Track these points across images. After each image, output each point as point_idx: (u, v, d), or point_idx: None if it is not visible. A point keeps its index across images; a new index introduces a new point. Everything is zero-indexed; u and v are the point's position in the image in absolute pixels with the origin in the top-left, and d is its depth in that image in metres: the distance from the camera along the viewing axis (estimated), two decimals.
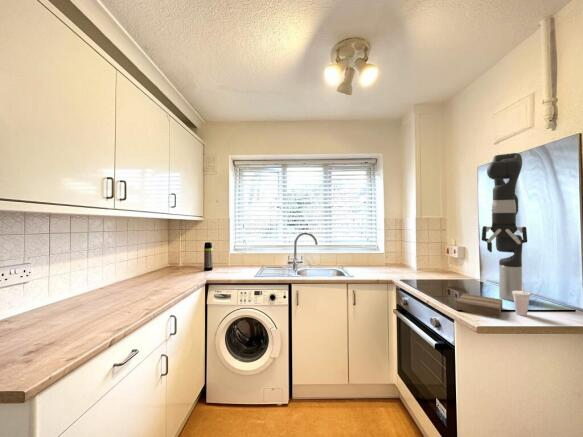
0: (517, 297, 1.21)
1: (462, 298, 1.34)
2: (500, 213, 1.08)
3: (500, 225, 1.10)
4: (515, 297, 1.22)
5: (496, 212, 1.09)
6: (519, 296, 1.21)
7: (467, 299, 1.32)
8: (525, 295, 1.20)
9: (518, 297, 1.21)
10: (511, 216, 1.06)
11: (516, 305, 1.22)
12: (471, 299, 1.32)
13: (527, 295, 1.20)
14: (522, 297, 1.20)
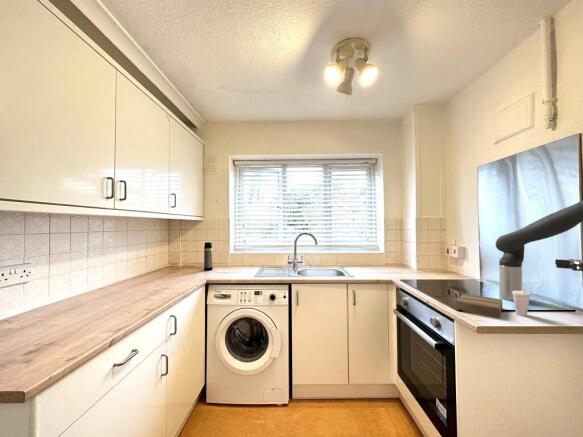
0: (517, 297, 1.21)
1: (462, 298, 1.34)
2: None
3: None
4: (515, 297, 1.22)
5: None
6: (519, 296, 1.21)
7: (467, 299, 1.32)
8: (525, 295, 1.20)
9: (518, 297, 1.21)
10: None
11: (516, 305, 1.22)
12: (471, 299, 1.32)
13: (527, 295, 1.20)
14: (522, 297, 1.20)
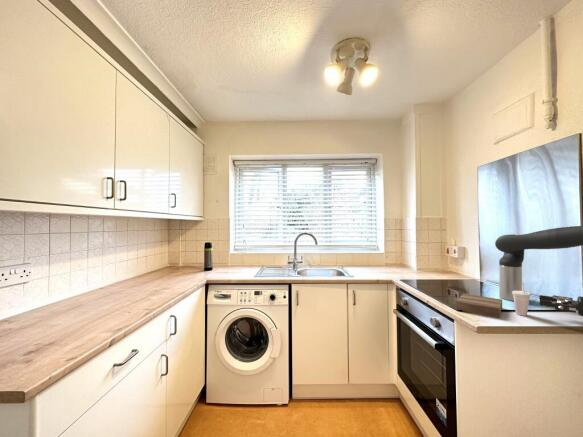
0: (517, 297, 1.21)
1: (462, 298, 1.34)
2: None
3: None
4: (515, 297, 1.22)
5: None
6: (519, 296, 1.21)
7: (467, 299, 1.32)
8: (525, 295, 1.20)
9: (518, 297, 1.21)
10: None
11: (516, 305, 1.22)
12: (471, 299, 1.32)
13: (527, 295, 1.20)
14: (522, 297, 1.20)
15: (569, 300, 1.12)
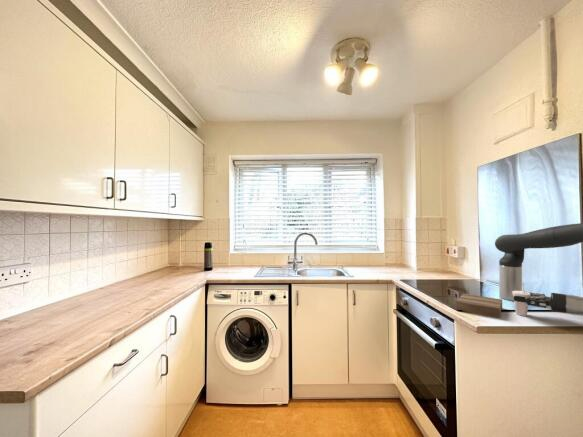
0: None
1: (462, 298, 1.34)
2: None
3: None
4: None
5: (566, 312, 1.12)
6: None
7: (467, 299, 1.32)
8: (525, 295, 1.20)
9: None
10: None
11: (516, 305, 1.22)
12: (471, 299, 1.32)
13: (527, 295, 1.20)
14: None
15: (542, 296, 1.17)
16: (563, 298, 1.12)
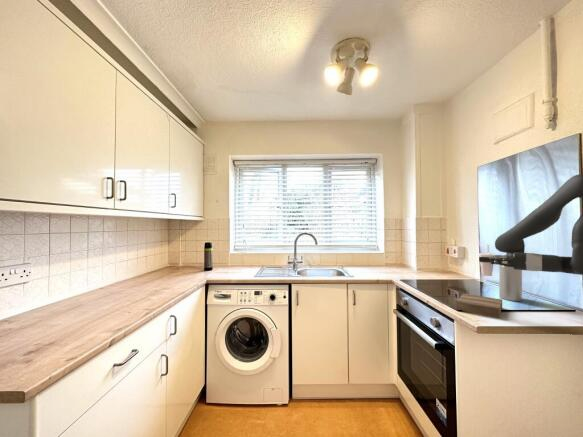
0: None
1: (462, 298, 1.34)
2: None
3: None
4: None
5: (526, 269, 1.18)
6: None
7: (467, 299, 1.32)
8: (490, 256, 1.25)
9: None
10: None
11: (482, 266, 1.28)
12: (471, 299, 1.32)
13: (491, 256, 1.25)
14: None
15: (505, 256, 1.23)
16: (523, 256, 1.18)
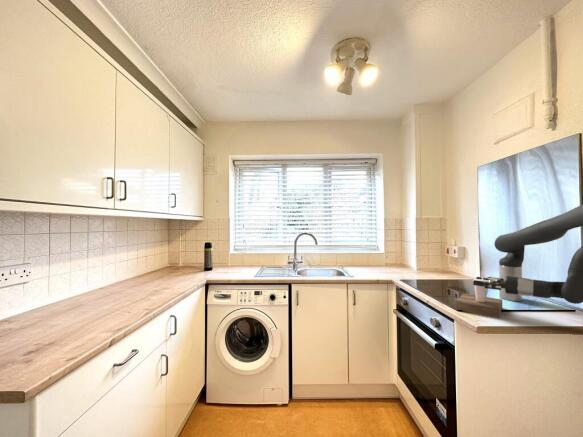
0: None
1: (462, 298, 1.34)
2: (517, 294, 1.20)
3: None
4: None
5: (518, 294, 1.19)
6: None
7: (467, 299, 1.32)
8: None
9: None
10: None
11: (476, 292, 1.29)
12: (471, 299, 1.32)
13: None
14: None
15: (498, 280, 1.24)
16: (515, 280, 1.19)
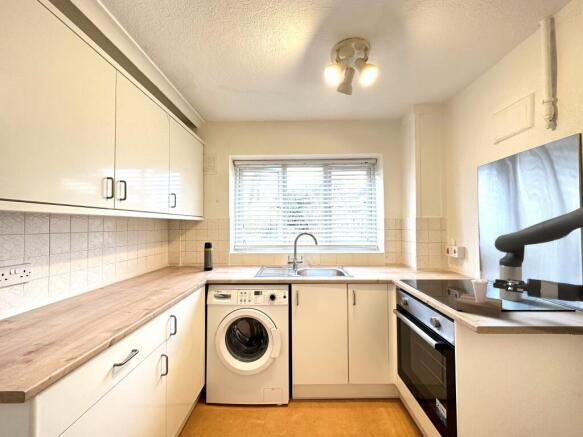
0: (475, 285, 1.27)
1: (462, 298, 1.34)
2: None
3: None
4: (474, 285, 1.28)
5: (541, 297, 1.14)
6: (477, 284, 1.26)
7: (467, 299, 1.32)
8: (482, 283, 1.25)
9: (476, 285, 1.27)
10: None
11: (475, 293, 1.28)
12: (471, 299, 1.32)
13: (484, 283, 1.25)
14: (480, 285, 1.26)
15: (519, 282, 1.19)
16: (538, 283, 1.14)
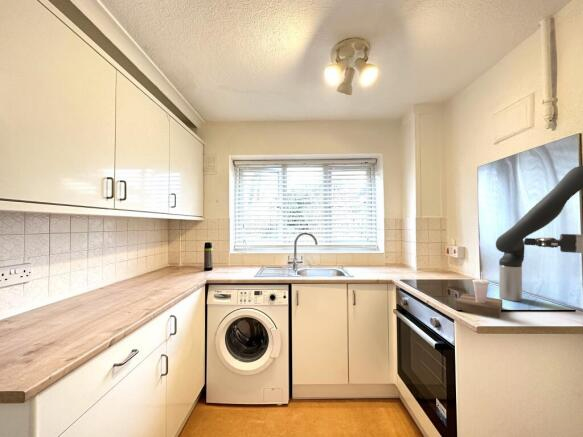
0: (476, 285, 1.27)
1: (462, 298, 1.34)
2: (574, 252, 1.13)
3: None
4: (475, 285, 1.28)
5: (576, 251, 1.12)
6: (478, 284, 1.27)
7: (467, 299, 1.32)
8: (483, 283, 1.25)
9: (477, 285, 1.27)
10: None
11: (476, 293, 1.28)
12: (471, 299, 1.32)
13: (485, 283, 1.25)
14: (480, 285, 1.26)
15: (552, 238, 1.17)
16: (573, 237, 1.12)
